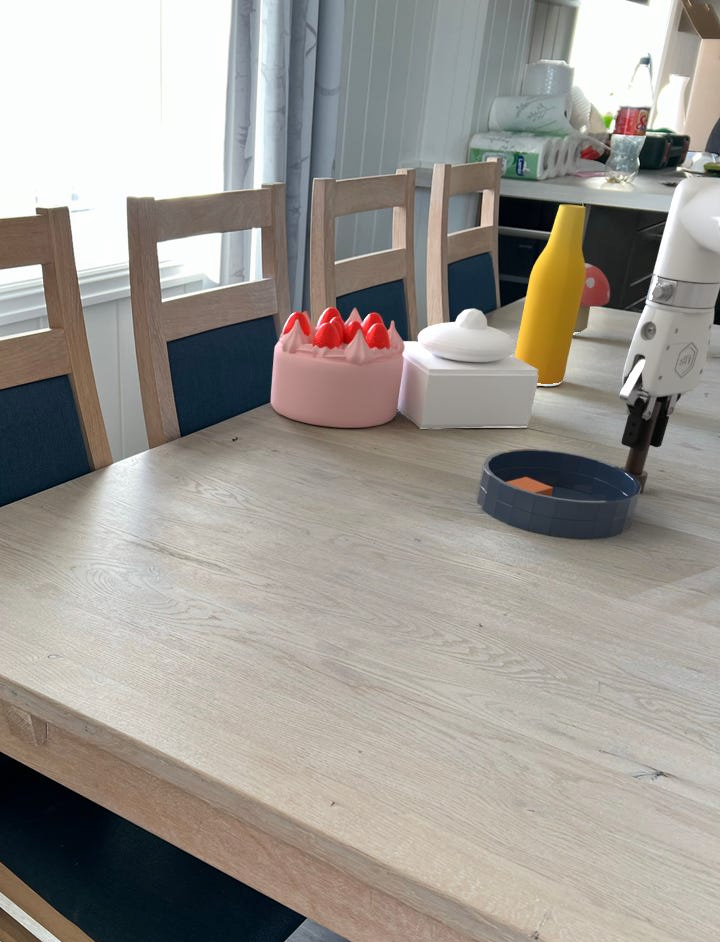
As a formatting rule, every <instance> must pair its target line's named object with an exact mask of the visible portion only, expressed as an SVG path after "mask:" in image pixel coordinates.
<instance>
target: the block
mask: <svg viewBox="0 0 720 942" xmlns="http://www.w3.org/2000/svg"><path fill="white" fill-rule="evenodd" d="M506 483H508V484H511V485H513V486H515V487H518V488H520V489H524V490H527V491H530V492H533V493H537V494H542V495H546V496H551V495H552V491H553V487H550V486H548V485H545V484H543V483H540V482H538V481H535V480H533V479H530V478H528V477H524V478H520V479H516V480H512V481H508V482H506Z"/></svg>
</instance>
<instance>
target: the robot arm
mask: <svg viewBox="0 0 720 942" xmlns="http://www.w3.org/2000/svg"><path fill="white" fill-rule="evenodd" d="M670 202H671V203H670V207H669V211H668V214H667V218H666V223H665V226H664V230H663V233H662V237H661V241H660V245H659V249H658V253H657V257H656V261H655V265H654V268H653V271H652V272H653V273H652V276H651V280H650V284H649V288H648V292H647V296H646V300H645V305H644V308H643V311H642V314H641V315H640V318H639V320H638V323H637V325H636V328H635V331H634V334H633V337H632V340H631V343H630V347H629V350H628V352H627V356H626V360H625V364H624V368H623V372H622V379H621V384H622V389H621V391H620V393H619V396H618V397H619V400H621V401H622V402H623V403H624V404H626V407H627V408H626V415H627V414H628V415H627V419H626V423H625V425H624V426H625V427H624V429H623V434H622V438H621V441H620V442H621V445H622V446H625V447H628V448H629V449H630V448H633V449H636V450H639V451H642V450H645V448H646V444H647V441H648V437H649V434H650V430H651V426H652V423H653V420H652V419H649V418H650V417H651V414H652V411H653V408H654V405H655V402H656V401H658V402H660V403H661V407H660V411H659V414H658V418H657V422H656V425H655V429H654V432H653V436H652V440H651V443H650V446H651V447H653V448H660V447H661V446H662V445H663V441H664V436H665V433H666V430H667V428H668V427H667V426H668V423H669V420H670V416H672V415H673V413H674V411H675V408H676V404H677V403H678V401H679V400H680V399H681V397H682V396H684V395H686V393H688V392H692V391H693V390H695V389H697V387H698V386H699V385H700V383H701V379H702V376H703V372H704V369H705V365H706V362H707V361H706V360H707V356H708V352H709V348H710V345H711V344H710V343H711V338H712V335H713V334H712V333H713V327H714V321H715V306H716V302H717V299H718V295H719V291H720V178H718V177H717V178H716V177H708V176H706V177H705V176H691V177H686V178H684V179H682V180H680V182H679V183H678V184H677V185H676V186H675V189H674V192H673V196H672V199H671V201H670ZM644 398H645V399H644ZM644 400H646V403H645V402H644Z"/></svg>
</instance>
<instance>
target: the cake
mask: <svg viewBox="0 0 720 942" xmlns="http://www.w3.org/2000/svg"><path fill="white" fill-rule="evenodd" d="M403 341H404V340H403V339H402V337H401V336H400V334H399V333H398V331H397V329H396V326H395V321H394V320H391V321H390V326H389V328H388V329H387V327H386V326H385V324H384V321H383V318H382V316H381V314H379V313H378V312H370V313H369V314H368V315H367V316H366V317H365V318H364V320H362V318H361V316H360V314H359V311H358V309H357V308H356V307H353V309H352V311H351V313H350V314H349V317H348V318H347V320H346V321H344V320H343V319H342V315H341V313H340V311H339V310H338V309H337V308H336V307H334V306H330V307H328V308H327V307H326V309H325V310H324V311H323V313H322V314H321V315H320V317H319V319H318V321H317V325H316V326H314V324H313V323H312V321H311V319H310V316H309V313H308V311H307V310H305V311H303V312H302V311H295V312H293V313H292V314H290V315H289V317H288V319H287V321H286V322H285V324H284V326H283V329H282V332H281V333H280V335H279V338H278V341H277V342H276V344H275V346H274V352H273V364H272V376H271V389H270V404H271V407H272V408H273V409H274V411H275V412H276V413H278V414H279V415H282V416H283V417H286V418H288V419H291V420H294V421H296V422H301V423H305V424H309V425H314V426H319V427H320V426H321V427H331V428H340V429H341V428H345V429H347V428H349V429H351V428H352V429H353V428H354V429H355V428H357V429H358V428H369V427H375V426H381V425H384V424H387V423H389V422H391V421H392V420H393V419H394V418H395V417H396V415H397V411H398V410H397V407H398V400H399V393H400V386H401V378H402V371H403V364H404V356H403V352H404V349H405V346H404V343H403Z"/></svg>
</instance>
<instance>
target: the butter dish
mask: <svg viewBox="0 0 720 942" xmlns="http://www.w3.org/2000/svg"><path fill="white" fill-rule="evenodd" d="M403 343H404V346H405V349H404V352H403V356H404V364H403V371H402V378H401V386H400V393H399V400H398V407H397V409H398V410H399V411H401V412H402V413H403V414H404V415H405V416H406V417H408V418H409V419H410V420H411V421H412V422H414V423H415V424H416V425H417V426H418V427H420V428H459V427H460V428H461V427H483V426H527V427H528V425H530V419H531V415H532V410H533V406H534V402H535V395H536V392H537V388H538V387H537V382H538V377H539V376H538V375H537V374H538V369H536V368H534V367H532V366H531V365H529V364H527V363H525V362H523V361H522V360H520V359H518V358H516V357H515V355H513V353H515V351H516V346H517V342H515V340H514V339H513V337H511V336H510V335H509V334H508V333H506V332H504V331H502V330H500V329H498V328H495V327H492V326H488V320H487V317H486V315H485V314H484V313H483V311H482V310H479V309H477V308H467V309H464V310H462V311H461V312H460V313H459V314H458V315H457V317H456V319H455V321H451V322H450V321H449V322H442V323H436V324H433V325H429V326H427V327H425V328H423V329H422V330H421V331H420V332H419V333H418V335H417V340H416V341H415V340H414V341H412V340H411V341H409V340H406V341H405V340H403ZM398 410H397V411H398ZM399 411H398V412H399ZM402 413H401V414H402ZM403 414H402V415H403ZM404 415H403V416H404ZM405 416H404V417H405ZM406 417H405V418H406ZM409 419H408V420H409ZM410 420H409V421H410ZM411 421H410V422H411ZM412 422H411V423H412ZM416 425H415V426H416ZM417 426H416V427H417ZM418 427H417V428H418Z"/></svg>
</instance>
